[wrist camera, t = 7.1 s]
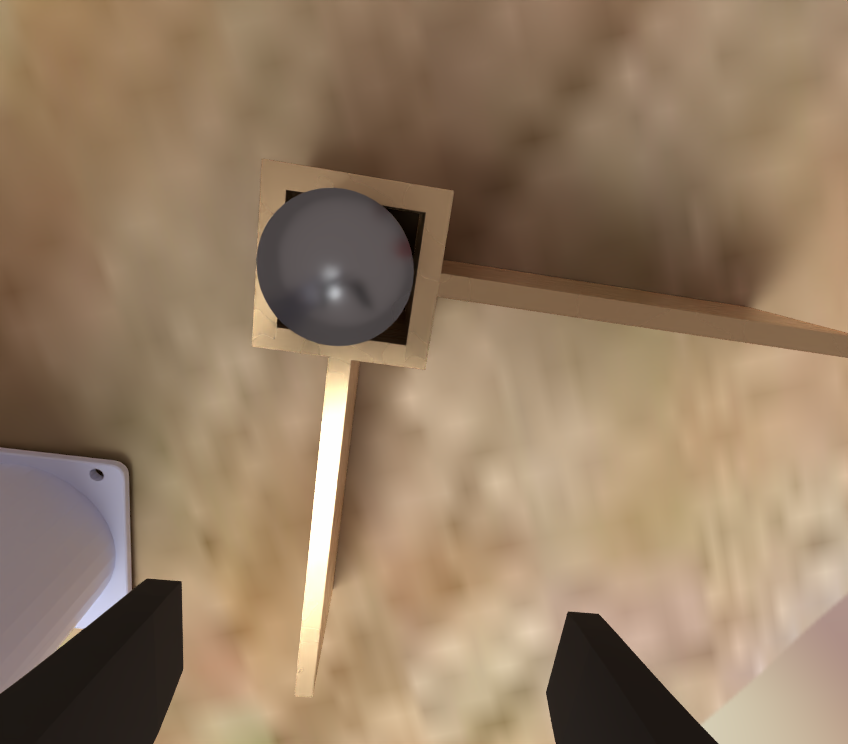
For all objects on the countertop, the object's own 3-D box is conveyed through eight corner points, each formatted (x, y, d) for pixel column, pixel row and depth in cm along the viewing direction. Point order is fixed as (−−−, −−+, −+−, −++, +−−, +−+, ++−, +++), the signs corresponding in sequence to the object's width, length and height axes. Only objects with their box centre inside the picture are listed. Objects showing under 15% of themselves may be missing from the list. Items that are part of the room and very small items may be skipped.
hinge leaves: (272, 584, 21) (233, 691, 16) (303, 175, 16) (261, 158, 12) (638, 619, 23) (701, 727, 18) (767, 252, 18) (901, 265, 13)
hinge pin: (317, 281, 17) (252, 334, 10) (325, 191, 16) (261, 174, 9) (401, 293, 18) (401, 355, 10) (414, 207, 17) (425, 202, 9)
